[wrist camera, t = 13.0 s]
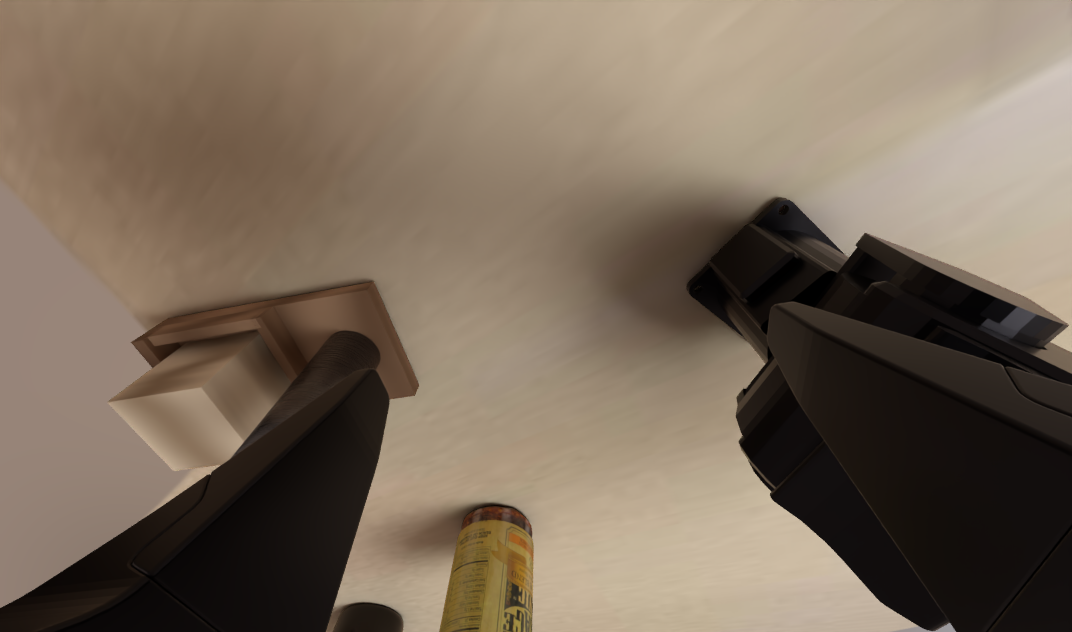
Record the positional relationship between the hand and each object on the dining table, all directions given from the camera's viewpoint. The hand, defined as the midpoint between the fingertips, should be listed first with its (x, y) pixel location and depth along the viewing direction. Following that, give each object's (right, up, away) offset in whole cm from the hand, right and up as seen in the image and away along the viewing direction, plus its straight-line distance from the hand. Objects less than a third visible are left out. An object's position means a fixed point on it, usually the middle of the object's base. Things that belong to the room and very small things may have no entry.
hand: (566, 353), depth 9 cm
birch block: (-18, -2, +15) cm, 24 cm away
